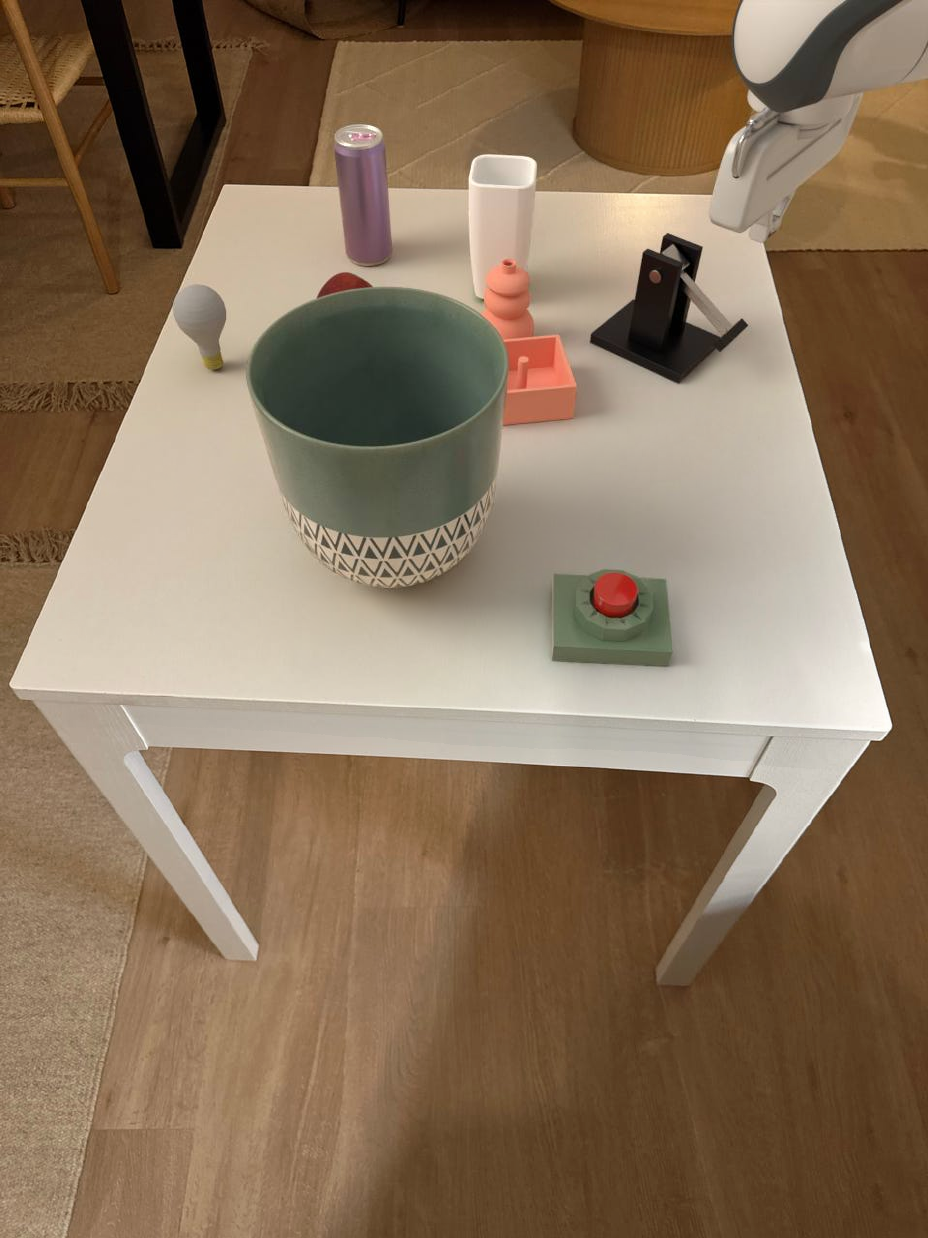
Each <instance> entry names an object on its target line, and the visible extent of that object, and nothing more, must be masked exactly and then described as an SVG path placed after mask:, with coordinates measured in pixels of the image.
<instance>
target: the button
mask: <svg viewBox="0 0 928 1238" xmlns="http://www.w3.org/2000/svg"><path fill="white" fill-rule="evenodd" d="M637 593H638V588H637V585H636V583H635V582H634V580H633V579H631V578H630V577H629V576H627V575H625V574H622V573H617V572H611V573H606V574H604V575H602V576H601V577H599V578H598V579H597V581H596V583H595V587H594V593H593V604H594V606H595V608H596V609H597V610H598V611H599V612H600V613H602V614H603V615H606V616H608V617H623V616H625V615H627V614H629V613H630V612H631V611H632V610H633V608H634V606H635V602H636V598H637Z"/></svg>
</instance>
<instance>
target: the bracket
mask: <svg viewBox="0 0 928 1238" xmlns="http://www.w3.org/2000/svg"><path fill="white" fill-rule="evenodd" d="M660 244H661V245H660V250H659V252H658V251H655V250H653V249H651V248H646V249H645V250H643V251H642V254H641V259H640V267H639V270H638V271H639V272H638V279H637V283H636V290H635V295H634V298H633V299H632V300H630V301H629V302H628V303H627V304H625V305H624V306H623V307H622V308H620V310H618V311H617V312H616V313H614V314H613V315H612V316H610V317H609V318H608V319H606V320H605V322H603V323H602V324H601V325H599V326H598V327H597V328H596V329H595V330H593V331H592V332H591V333H590V338H589V343H591V344H593V345H595V346H596V347H599V348H601V349H603V350H605V351H608V352H609V353H612V354H614V355H616V356H619V357H621V358H622V359H625V360H627V361H629V362H631V363H633V364H635V365H637V366H640V367H642V368H644V369H646V370H648V371H651V372H653V373H655V374H656V375H659V376H661V377H663V378H665V379H668V380H670V381H672V382H674V383H676V384H680V383H681V382H682V381H683V380H684V379H685V378H686V377H687V376H688V375H689V374H690V373H692V372H693V371H694V370H695V369H696V368H697V367H698V366H700V365H701V364H702V363H703V361H705V359H707V358H708V357H709V356H710V355H711V354H712V353H713V352H714V351H715V350H717V349H716V347H715V346H714V345H713V344H714V343H715V342H716V341H718V340H719V339H720V338H721V337H722V336H719V335H718V334H715V333H712V332H711V331H708V330H707V329H703V328H702V327H698V326H697V325H694V324H692V323H689V322H687V320H688V315H689V310H690V306H691V302H692V300H691V299H690V298H689V297H688V296H687V295H686V294H685V292H684V291H683V290H682V289H681V288H680V287H679V286H678V285H679V281H680V276H681V271H682V266H683V263H682V262H680V261H677V260H675V259H673V258H670V257H668V256H665V255H663V254H661V253H662V252H663V251H665V250H666V249H667V248H668V247H670V246H671V245H672V244H673V245H674V246H675V247H676V248H677V249H678V250H679V251H680V253H681V254H682V255H683V256H684V257H685V258H686V259H687V261H688V262H689V263H690V264H689V265H688V266H687V267H686V269H685V270H684V271H685V272H686V273H687V274H688V276H689V277H690V278H691V279H692V280H693V281H694V282H695V283H696V279H697V275H698V270H699V266H700V261H701V258H702V254H703V249H704V246H702V245H699V244H697V243H694V242H692V241H689V240H687V239H685V238H682V237H679V236H677V235H674V234H671V233H670V232H667V233H665V234H664V235H663V236H662V239H661V243H660Z"/></svg>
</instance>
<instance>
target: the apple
mask: <svg viewBox="0 0 928 1238" xmlns="http://www.w3.org/2000/svg"><path fill="white" fill-rule="evenodd" d="M368 287H374V286H373V285H372V284H371V283H370V282H369V281H367V280H365V279H364V278H362V277H360V276H358V275H357V274H355V273H352V272H348V271H344V272H343V271H342V272H339V273H336V274H335V275H332V276H331V277H330V278H329V279H328V280H327V281H326V282H325V283H324V284H323V285H322V287H321V288H320V290H319V292H318V293H317V296H316V298H315V299H317V298H319V297H322V296H326V295H329V294H333V293H336V292H341V291H346V290H351V289H358V288H368Z"/></svg>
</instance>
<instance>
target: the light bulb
mask: <svg viewBox="0 0 928 1238" xmlns="http://www.w3.org/2000/svg"><path fill="white" fill-rule="evenodd" d="M172 313H173V318H174V321H175V323H176V325H177V326H178V328H179V329H180V331H181V332H183V333H184V334H185V335H186V336H187V337H188V338H190V339H191V340H192V341H193V342H194V343H195V345H197V347H198V351H199V354H200V355H201V357H202V362H203V365H204V367H205V368H206V369H208V370H218V369H220V368H222V367H223V365H224V359H223V355H222V352H221V346H220V338H221V335H222V332H223V330H224V328H225V325H226V321H227V308H226V304H225V302H224V299H223V298H222V297H221V295H220V294H219V293H218V292H217V291H216V290H214V289H213V288H211V287H210V286H207V285H206V284H205V285H204V284H199V283H197V284H191V285H188V286H185V287H184V288H181V290H180V291H179V292H178V293H177V295H176V296H175V297H174V301H173V304H172Z"/></svg>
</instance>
